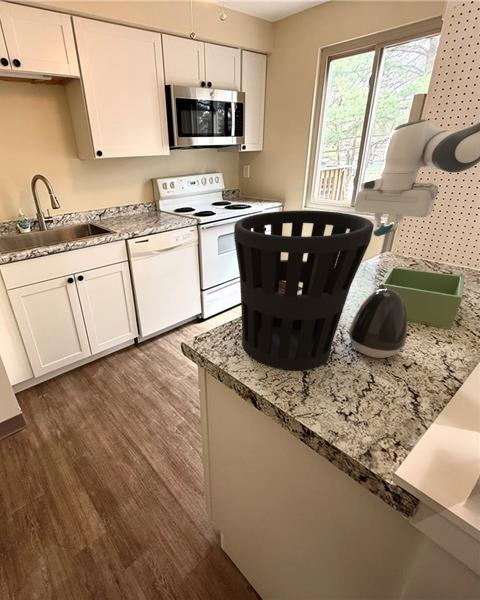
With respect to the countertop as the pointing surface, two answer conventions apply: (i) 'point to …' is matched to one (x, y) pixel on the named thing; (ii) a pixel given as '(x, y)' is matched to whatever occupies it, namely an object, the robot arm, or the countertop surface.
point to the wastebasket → (296, 284)
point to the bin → (427, 294)
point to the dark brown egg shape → (380, 324)
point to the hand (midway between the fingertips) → (385, 228)
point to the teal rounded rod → (383, 230)
